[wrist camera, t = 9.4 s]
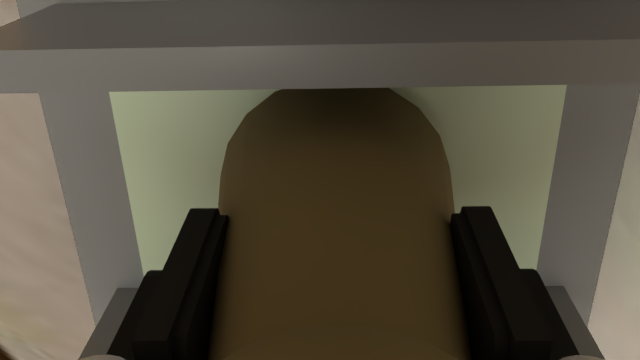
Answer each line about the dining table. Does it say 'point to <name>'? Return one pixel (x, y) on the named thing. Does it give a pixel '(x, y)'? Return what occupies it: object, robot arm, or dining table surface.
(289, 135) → the brown gourd-shaped form
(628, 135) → the rack
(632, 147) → the dining table surface
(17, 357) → the dining table surface
